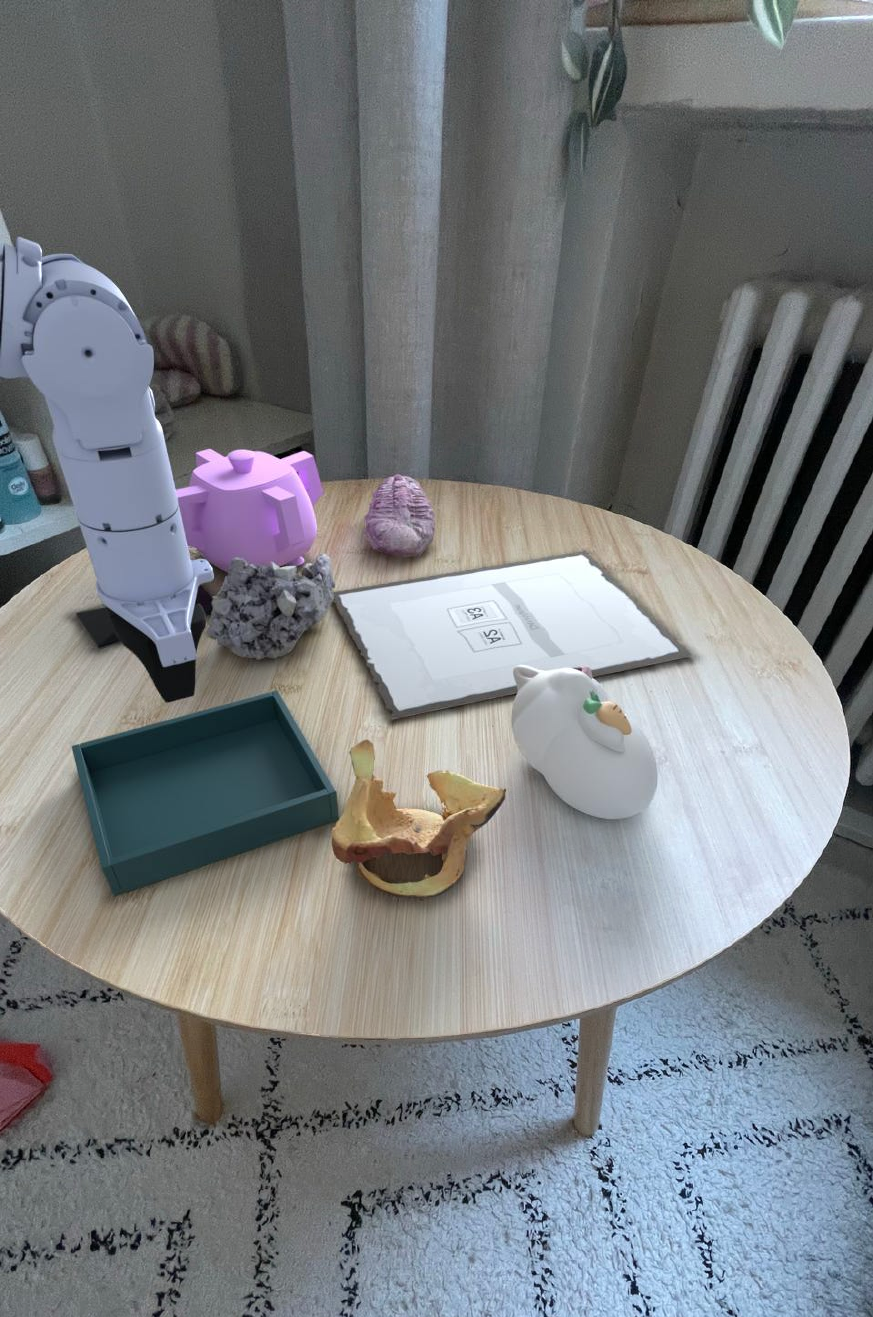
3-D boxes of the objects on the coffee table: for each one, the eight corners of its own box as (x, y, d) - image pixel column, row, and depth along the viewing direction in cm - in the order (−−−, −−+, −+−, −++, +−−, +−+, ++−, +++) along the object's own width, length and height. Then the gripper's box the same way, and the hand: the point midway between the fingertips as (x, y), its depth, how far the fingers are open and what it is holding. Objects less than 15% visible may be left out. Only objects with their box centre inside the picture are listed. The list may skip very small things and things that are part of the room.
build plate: (194, 581, 82) (186, 540, 78) (223, 612, 77) (215, 570, 74) (75, 615, 76) (61, 573, 73) (99, 650, 72) (85, 607, 69)
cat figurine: (681, 740, 50) (543, 611, 58) (585, 820, 50) (461, 680, 58) (693, 792, 58) (570, 672, 66) (610, 860, 58) (498, 733, 66)
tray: (114, 896, 51) (101, 868, 49) (83, 774, 60) (71, 745, 58) (339, 819, 57) (336, 791, 55) (282, 717, 65) (277, 689, 63)
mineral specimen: (340, 567, 77) (288, 507, 68) (366, 640, 73) (314, 587, 64) (239, 623, 79) (176, 573, 70) (259, 697, 75) (195, 654, 67)
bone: (357, 936, 50) (349, 852, 44) (310, 833, 56) (298, 747, 50) (519, 877, 53) (531, 792, 48) (457, 786, 60) (462, 702, 54)
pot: (230, 621, 76) (208, 507, 68) (144, 557, 85) (115, 449, 77) (370, 562, 85) (365, 456, 77) (279, 510, 94) (266, 409, 86)
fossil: (430, 508, 95) (431, 466, 92) (438, 565, 85) (440, 520, 82) (364, 507, 95) (363, 465, 91) (364, 565, 85) (363, 520, 81)
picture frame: (391, 720, 65) (692, 656, 73) (391, 718, 65) (693, 654, 73) (328, 593, 80) (585, 552, 88) (328, 591, 80) (585, 549, 87)
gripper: (230, 549, 42) (264, 738, 51) (169, 455, 51) (207, 629, 60) (95, 577, 39) (156, 769, 49) (56, 472, 49) (114, 651, 58)
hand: (178, 694), depth 54 cm, fingers closed
